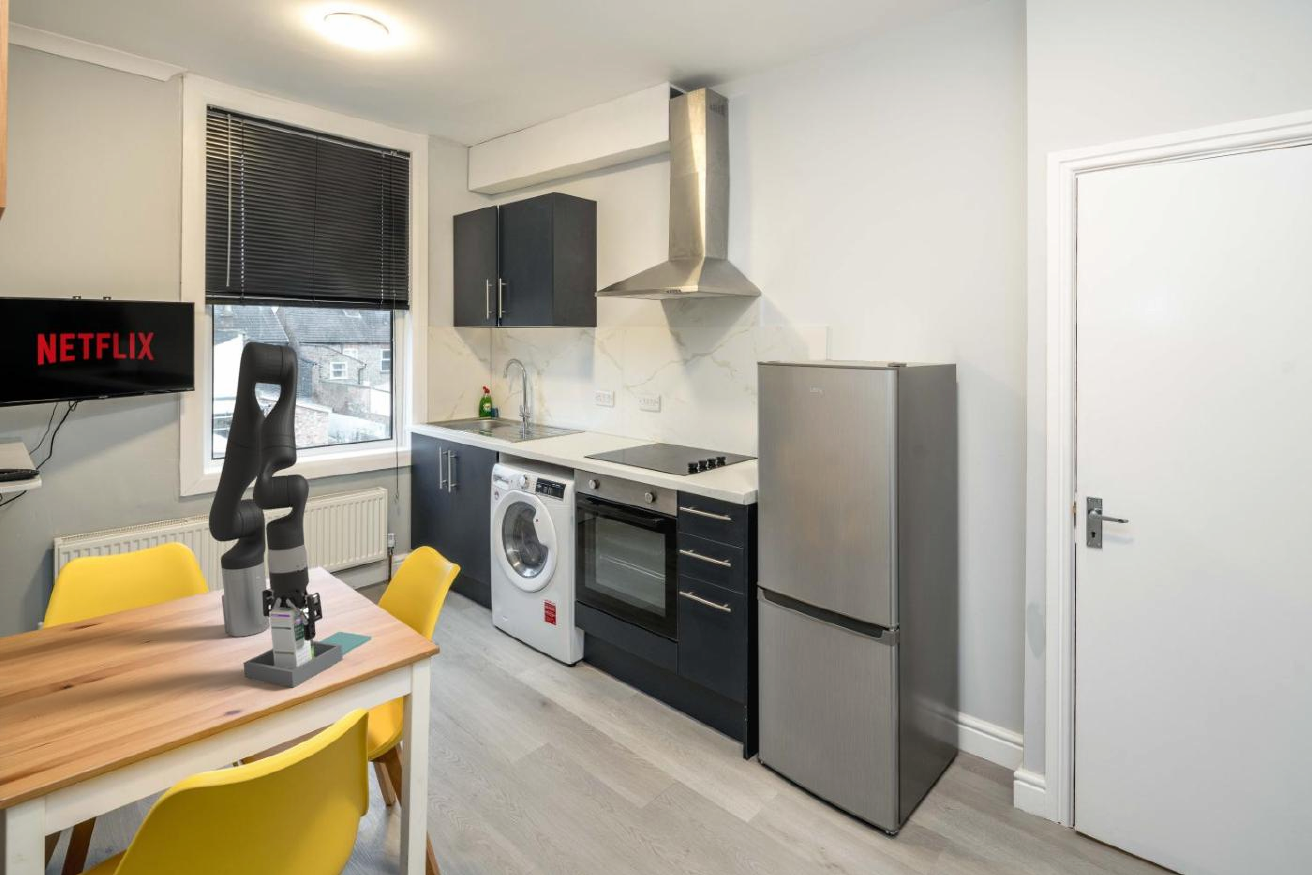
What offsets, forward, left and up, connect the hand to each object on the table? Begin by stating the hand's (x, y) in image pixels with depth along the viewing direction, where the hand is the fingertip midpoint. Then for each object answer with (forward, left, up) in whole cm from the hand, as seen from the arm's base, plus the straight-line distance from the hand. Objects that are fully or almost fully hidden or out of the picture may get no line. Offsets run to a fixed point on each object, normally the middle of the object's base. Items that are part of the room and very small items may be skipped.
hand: (294, 636), depth 151 cm
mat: (0, +13, -7) cm, 15 cm away
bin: (0, 0, -7) cm, 7 cm away
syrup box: (0, 0, -8) cm, 8 cm away
